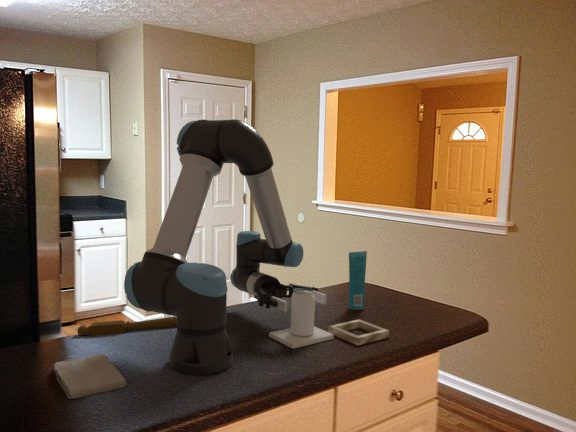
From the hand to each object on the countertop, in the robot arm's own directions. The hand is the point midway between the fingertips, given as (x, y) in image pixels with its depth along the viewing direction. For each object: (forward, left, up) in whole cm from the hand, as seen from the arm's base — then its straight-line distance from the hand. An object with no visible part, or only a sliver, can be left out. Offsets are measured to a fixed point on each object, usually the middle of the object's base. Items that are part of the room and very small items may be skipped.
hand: (306, 303), depth 141 cm
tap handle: (-36, +32, -11) cm, 50 cm away
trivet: (0, +2, -10) cm, 10 cm away
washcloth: (-56, +6, -11) cm, 57 cm away
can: (0, +2, -9) cm, 9 cm away
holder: (+15, -5, -10) cm, 19 cm away
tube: (+33, +15, -10) cm, 37 cm away
